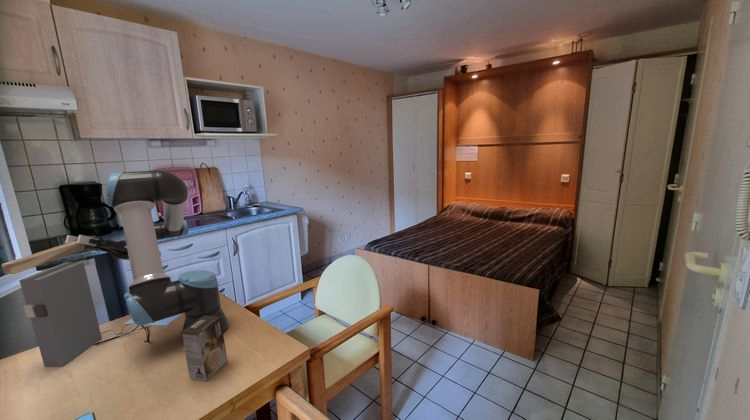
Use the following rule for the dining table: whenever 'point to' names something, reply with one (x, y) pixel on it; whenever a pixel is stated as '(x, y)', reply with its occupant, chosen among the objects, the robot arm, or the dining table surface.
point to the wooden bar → (43, 257)
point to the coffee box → (204, 347)
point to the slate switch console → (61, 312)
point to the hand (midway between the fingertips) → (73, 238)
